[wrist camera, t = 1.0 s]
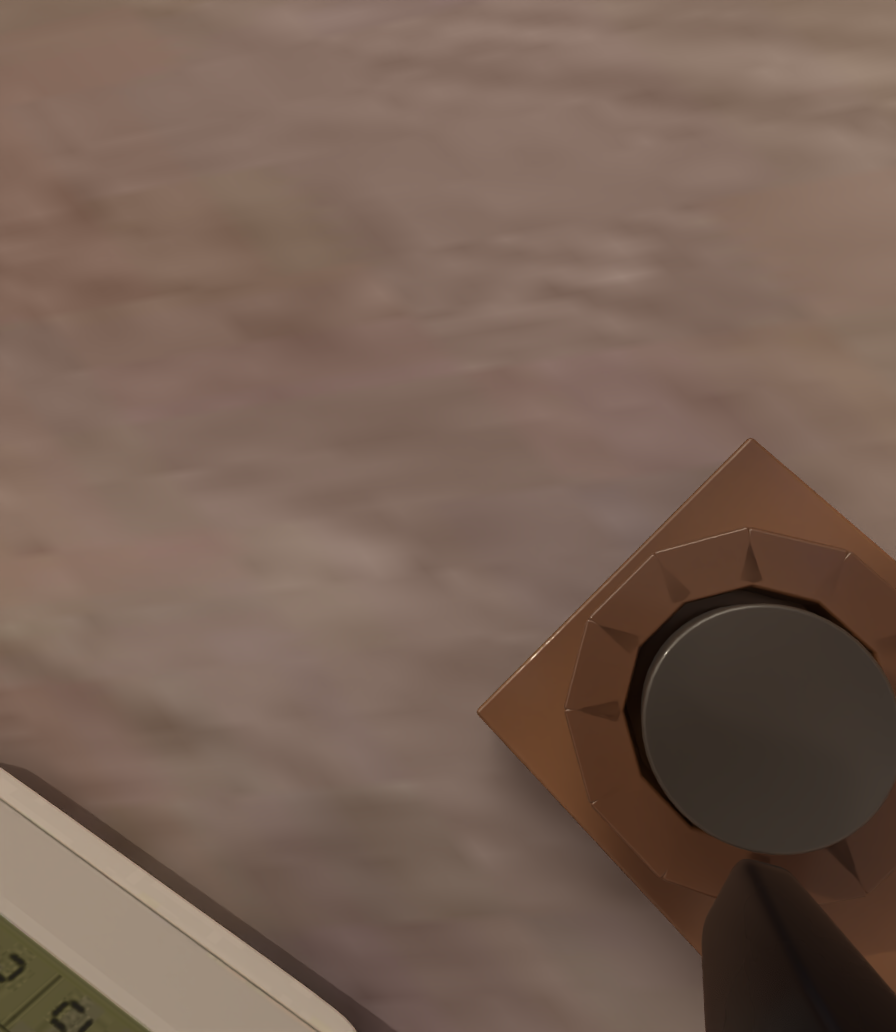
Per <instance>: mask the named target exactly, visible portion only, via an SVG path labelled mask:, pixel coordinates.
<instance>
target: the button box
mask: <svg viewBox="0 0 896 1032" xmlns="http://www.w3.org/2000/svg"><path fill="white" fill-rule="evenodd" d="M759 603H766V604H780V605H786V606H791V607H796V608H800V609H803V610H806V611H809V612H812V613H815V614H817V615H819V616H821V617H823V618H825V619H828V620H830V621H831V622H833V623H835V624H836V625H838V626H839V627H841V628H843V629H844V630H845V631H847V632H848V633H849V634H851V635H852V636H853V637H854V638H856V639H857V640H858V641H859V642H860V643H861V644H862V645H863V646H864V647H865V648H866V649H867V650H868V651H869V652H870V653H871V655H872V656H873V657H874V659H875V660H876V661H877V662H878V664H879V665H880V666H881V668H882V670H883V671H884V673H885V675H886V677H887V678H888V680H889V682H890V684H891V686H892V689H893V691H894V694H895V696H896V561H895V560H894V559H893V558H891V557H890V556H889V555H888V554H887V553H886V552H884V551H883V550H882V549H881V548H880V547H879V546H877V545H876V544H875V543H874V542H873V541H872V540H870V539H869V538H868V537H867V536H866V535H865V534H863V533H862V532H861V531H860V530H859V529H858V528H857V527H855V526H854V525H853V524H852V523H851V522H850V521H848V520H847V519H846V518H845V517H844V516H843V515H841V514H840V513H839V512H838V511H837V510H836V509H834V508H833V507H832V506H831V505H830V504H829V503H827V502H826V501H825V500H824V499H823V498H822V497H821V496H819V495H818V494H817V493H816V492H815V491H814V490H812V489H811V488H810V487H809V486H808V485H807V484H805V483H804V482H803V481H802V480H801V479H800V478H798V477H797V476H796V475H795V474H794V473H793V472H791V471H790V470H789V469H788V468H787V467H786V466H784V465H783V464H782V463H781V462H780V461H779V460H778V459H776V458H775V457H774V456H773V455H772V454H771V453H769V452H768V451H767V450H766V449H765V448H764V447H762V446H761V445H760V444H759V443H758V442H757V441H755V440H754V439H752V438H749V439H747V440H746V441H745V442H744V443H743V444H742V445H741V446H740V447H739V448H738V449H737V450H736V451H735V452H734V453H733V454H732V455H731V456H730V457H729V458H728V459H727V460H726V461H725V462H724V463H723V464H722V465H721V466H720V467H719V468H718V469H717V470H716V471H715V472H714V473H713V474H712V475H711V476H710V477H709V478H708V479H707V480H706V481H705V482H704V483H703V484H702V485H701V486H700V487H699V488H698V489H697V490H696V491H695V492H694V493H693V494H692V495H691V496H690V497H689V498H688V499H687V500H686V501H685V502H684V503H683V504H682V505H681V506H680V507H679V508H678V509H677V510H676V511H675V512H674V513H673V514H672V515H671V516H670V517H669V518H668V519H667V520H666V521H665V522H664V523H663V524H662V525H661V526H660V527H659V528H658V529H657V530H656V531H655V532H654V533H653V534H652V535H651V536H650V537H649V538H648V539H647V540H646V541H645V542H644V543H643V544H642V545H641V546H640V547H639V548H638V549H637V550H636V551H635V552H634V553H633V554H632V555H631V556H630V557H629V558H628V559H627V560H626V561H625V562H624V563H623V564H622V565H621V566H620V567H619V568H618V569H617V570H616V571H615V572H614V573H613V574H612V575H611V576H610V577H609V578H608V579H607V580H606V581H605V582H604V583H603V584H602V585H601V586H600V587H599V588H598V589H597V590H596V591H595V592H594V593H593V594H592V595H591V596H590V597H589V598H588V599H587V600H586V601H585V602H584V603H583V604H582V605H581V606H580V607H579V608H578V609H577V610H576V611H575V612H574V613H573V614H572V615H571V616H570V617H569V618H568V619H567V620H566V621H565V622H564V623H563V624H562V625H561V626H560V627H559V628H558V629H557V630H556V631H555V632H554V633H553V634H552V635H551V636H550V637H549V638H548V639H547V640H546V641H545V642H544V643H543V644H542V645H541V646H540V647H539V648H538V649H537V650H536V651H535V652H534V653H533V654H532V655H531V656H530V657H529V658H528V659H527V660H526V661H525V662H524V663H523V664H522V665H521V666H520V667H519V668H518V669H517V670H516V671H515V672H514V673H513V674H512V675H511V676H510V677H509V678H508V679H507V680H506V681H505V682H504V683H503V684H502V685H501V686H500V687H499V688H498V689H497V690H496V691H495V692H494V693H493V694H492V695H491V696H490V697H489V698H488V699H487V700H486V701H485V702H484V703H483V704H482V705H481V706H480V707H479V708H478V710H477V714H478V715H479V716H480V718H481V719H482V720H483V721H484V722H485V723H486V724H487V725H488V726H489V727H490V728H491V729H492V730H493V732H494V733H495V734H496V735H497V736H498V737H499V738H500V739H501V740H502V741H503V742H504V743H505V745H506V746H507V747H508V748H509V749H510V750H511V751H512V752H513V753H514V754H515V755H516V756H517V757H518V759H519V760H520V761H521V762H522V763H523V764H524V765H525V766H526V767H527V768H528V769H529V770H530V771H531V773H532V774H533V775H534V776H535V777H536V778H537V779H538V780H539V781H540V782H541V783H542V784H543V786H544V787H545V788H546V789H547V790H548V791H549V792H550V793H551V794H552V795H553V796H554V797H555V798H556V800H557V801H558V802H559V803H560V804H561V805H562V806H563V807H564V808H565V809H566V810H567V811H568V812H569V814H570V815H571V816H572V817H573V818H574V819H575V820H576V821H577V822H578V823H579V824H580V825H581V827H582V828H583V829H584V830H585V831H586V832H587V833H588V834H589V835H590V836H591V837H592V838H593V839H594V841H595V842H596V843H597V844H598V845H599V846H600V847H601V848H602V849H603V850H604V851H605V852H606V854H607V855H608V856H609V857H610V858H611V859H612V860H613V861H614V862H615V863H616V864H617V865H618V866H619V868H620V869H621V870H622V871H623V872H624V873H625V874H626V875H627V876H628V877H629V878H630V879H631V880H632V882H633V883H634V884H635V885H636V886H637V887H638V888H639V889H640V890H641V891H642V892H643V893H644V895H645V896H646V897H647V898H648V899H649V900H650V901H651V902H652V903H653V904H654V905H655V906H656V907H657V909H658V910H659V911H660V912H661V913H662V914H663V915H664V916H665V917H666V918H667V919H668V920H669V921H670V923H671V924H672V925H673V926H674V927H675V928H676V929H677V930H678V931H679V932H680V933H681V934H682V936H683V937H684V938H685V939H686V940H687V941H688V942H689V943H690V944H691V945H692V946H693V947H694V948H695V950H696V951H697V952H698V953H699V954H700V955H701V956H702V950H701V939H702V930H703V925H704V922H705V918H706V916H707V914H708V912H709V910H710V908H711V907H712V905H713V903H714V901H715V899H716V897H717V896H718V894H719V892H720V890H721V888H722V886H723V885H724V883H725V881H726V879H727V877H728V875H729V874H730V872H731V870H732V868H733V867H734V866H735V864H736V863H737V862H739V861H740V860H742V859H752V860H756V861H760V862H764V863H768V864H772V865H776V866H780V867H782V868H784V869H787V870H788V871H789V872H791V873H792V874H793V875H794V876H795V877H796V879H797V880H798V881H799V882H800V883H801V884H802V886H803V887H804V888H805V889H806V890H807V891H808V893H809V894H810V895H811V896H812V897H813V898H814V900H815V901H816V902H817V903H818V904H819V905H820V907H821V908H822V909H823V910H824V911H825V912H826V913H827V915H828V916H829V917H830V918H831V919H832V920H833V922H834V923H835V924H836V925H837V926H838V927H839V929H840V930H841V931H842V932H843V933H844V934H845V936H846V937H847V938H848V939H849V940H850V941H851V943H852V944H853V945H854V946H855V947H856V948H857V949H858V951H859V952H860V953H861V954H862V955H863V956H864V958H865V959H866V960H867V961H868V962H869V963H870V965H871V966H872V967H873V968H874V969H875V970H876V972H877V973H878V974H879V975H880V976H881V977H882V979H883V980H884V981H885V982H886V983H887V984H888V985H889V987H890V988H891V989H892V990H893V991H894V992H895V994H896V781H895V783H894V785H893V787H892V789H891V791H890V793H889V795H888V797H887V799H886V800H885V802H884V803H883V805H882V806H881V808H880V809H879V810H878V812H877V813H876V814H875V815H874V816H873V817H872V818H871V819H870V820H869V821H868V822H867V823H866V824H865V825H864V826H863V827H861V828H860V829H859V830H858V831H856V832H855V833H854V834H852V835H850V836H849V837H847V838H845V839H844V840H842V841H840V842H838V843H836V844H833V845H831V846H829V847H826V848H824V849H820V850H816V851H813V852H809V853H803V854H795V855H769V854H761V853H755V852H751V851H747V850H743V849H739V848H736V847H734V846H731V845H729V844H726V843H724V842H722V841H720V840H718V839H716V838H714V837H712V836H711V835H709V834H707V833H705V832H704V831H703V830H701V829H700V828H698V827H697V826H696V825H694V824H693V823H692V822H691V821H690V820H688V819H687V818H686V817H685V816H684V815H683V814H682V813H681V812H680V811H679V810H678V809H677V808H676V807H675V805H674V804H673V803H672V802H671V801H670V800H669V798H668V797H667V795H666V794H665V792H664V791H663V789H662V788H661V786H660V785H659V783H658V781H657V779H656V777H655V775H654V773H653V771H652V769H651V766H650V763H649V761H648V758H647V755H646V751H645V746H644V742H643V736H642V724H641V696H642V691H643V685H644V681H645V678H646V675H647V672H648V669H649V667H650V665H651V663H652V661H653V658H654V657H655V655H656V654H657V652H658V651H659V649H660V648H661V646H662V645H663V644H664V642H665V641H666V640H667V639H668V638H669V637H670V636H671V635H672V634H673V633H674V632H675V631H676V630H677V629H679V628H680V627H681V626H682V625H684V624H685V623H687V622H688V621H690V620H691V619H693V618H695V617H697V616H699V615H701V614H703V613H705V612H708V611H711V610H714V609H717V608H720V607H726V606H731V605H741V604H759Z"/></svg>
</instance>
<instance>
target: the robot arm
mask: <svg viewBox="0 0 896 1032" xmlns="http://www.w3.org/2000/svg"><path fill="white" fill-rule="evenodd" d="M701 950H702V970H703V990H704V1011H705V1031H706V1032H896V994H895V992H894V991H893V990H892V989H891V988H890V987H889V985H888V984H887V983H886V982H885V981H884V980H883V979H882V977H881V976H880V975H879V974H878V973H877V972H876V970H875V969H874V968H873V967H872V966H871V965H870V963H869V962H868V961H867V960H866V959H865V958H864V956H863V955H862V954H861V953H860V952H859V951H858V949H857V948H856V947H855V946H854V945H853V944H852V943H851V941H850V940H849V939H848V938H847V937H846V936H845V934H844V933H843V932H842V931H841V930H840V929H839V927H838V926H837V925H836V924H835V923H834V922H833V920H832V919H831V918H830V917H829V916H828V915H827V913H826V912H825V911H824V910H823V909H822V908H821V907H820V905H819V904H818V903H817V902H816V901H815V900H814V898H813V897H812V896H811V895H810V894H809V893H808V891H807V890H806V889H805V888H804V887H803V886H802V884H801V883H800V882H799V881H798V880H797V879H796V877H795V876H794V875H793V874H792V873H791V872H789V871H788V870H787V869H784V868H782V867H780V866H776V865H772V864H768V863H764V862H760V861H756V860H752V859H742V860H740V861H739V862H737V863H736V864H735V866H734V867H733V868H732V870H731V872H730V874H729V875H728V877H727V879H726V881H725V883H724V885H723V886H722V888H721V890H720V892H719V894H718V896H717V897H716V899H715V901H714V903H713V905H712V907H711V908H710V910H709V912H708V914H707V916H706V918H705V922H704V925H703V930H702V939H701Z"/></svg>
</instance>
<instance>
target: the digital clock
mask: <svg viewBox="0 0 896 1032" xmlns="http://www.w3.org/2000/svg"><path fill="white" fill-rule="evenodd" d="M0 1032H357V1031H356V1029H355V1028H354V1027H353V1026H352V1025H351V1023H350V1022H349V1021H348V1020H347V1019H346V1018H345V1017H344V1016H343V1015H342V1014H340V1013H339V1012H338V1011H337V1010H336V1009H335V1008H333V1007H332V1006H331V1005H329V1004H328V1003H327V1002H325V1001H324V1000H323V999H321V998H320V997H319V996H318V995H316V994H315V993H314V992H312V991H311V990H310V989H308V988H307V987H306V986H304V985H303V984H302V983H300V982H299V981H298V980H296V979H295V978H293V977H292V976H291V975H289V974H288V973H287V972H285V971H284V970H282V969H281V968H280V967H278V966H277V965H276V964H274V963H273V962H272V961H270V960H269V959H267V958H266V957H265V956H263V955H262V954H260V953H259V952H258V951H256V950H255V949H253V948H252V947H251V946H249V945H248V944H246V943H245V942H244V941H242V940H241V939H240V938H238V937H237V936H235V935H234V934H233V933H231V932H230V931H228V930H227V929H226V928H224V927H223V926H221V925H220V924H219V923H217V922H216V921H214V920H213V919H212V918H210V917H209V916H207V915H206V914H205V913H203V912H202V911H200V910H199V909H198V908H196V907H195V906H194V905H192V904H191V903H189V902H188V901H187V900H185V899H184V898H182V897H181V896H180V895H178V894H177V893H175V892H174V891H173V890H171V889H170V888H168V887H167V886H166V885H164V884H163V883H161V882H160V881H159V880H157V879H156V878H154V877H153V876H152V875H150V874H149V873H148V872H146V871H145V870H143V869H142V868H141V867H139V866H138V865H136V864H135V863H134V862H132V861H131V860H129V859H128V858H127V857H125V856H124V855H122V854H121V853H120V852H118V851H117V850H115V849H114V848H113V847H111V846H110V845H108V844H107V843H106V842H104V841H103V840H102V839H100V838H99V837H97V836H96V835H95V834H93V833H92V832H90V831H89V830H88V829H86V828H85V827H83V826H82V825H81V824H79V823H78V822H76V821H75V820H74V819H72V818H71V817H69V816H68V815H67V814H65V813H64V812H62V811H61V810H60V809H58V808H57V807H56V806H54V805H53V804H51V803H50V802H49V801H47V800H46V799H44V798H43V797H42V796H40V795H39V794H37V793H36V792H35V791H33V790H32V789H30V788H29V787H28V786H26V785H25V784H23V783H22V782H20V781H19V780H18V779H16V778H15V777H13V776H12V775H11V774H9V773H8V772H6V771H5V770H3V769H2V768H1V767H0Z"/></svg>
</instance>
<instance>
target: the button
mask: <svg viewBox="0 0 896 1032" xmlns="http://www.w3.org/2000/svg"><path fill="white" fill-rule="evenodd" d="M641 724H642V736H643V742H644V746H645V751H646V755H647V758H648V761H649V763H650V766H651V769H652V771H653V773H654V775H655V777H656V779H657V781H658V783H659V785H660V786H661V788H662V789H663V791H664V792H665V794H666V795H667V797H668V798H669V800H670V801H671V802H672V803H673V804H674V805H675V807H676V808H677V809H678V810H679V811H680V812H681V813H682V814H683V815H684V816H685V817H686V818H687V819H688V820H690V821H691V822H692V823H693V824H694V825H696V826H697V827H698V828H700V829H701V830H703V831H704V832H705V833H707V834H709V835H711V836H712V837H714V838H716V839H718V840H720V841H722V842H724V843H726V844H729V845H731V846H734V847H736V848H739V849H743V850H747V851H751V852H755V853H761V854H769V855H795V854H803V853H809V852H813V851H816V850H820V849H824V848H826V847H829V846H831V845H833V844H836V843H838V842H840V841H842V840H844V839H845V838H847V837H849V836H850V835H852V834H854V833H855V832H856V831H858V830H859V829H860V828H861V827H863V826H864V825H865V824H866V823H867V822H868V821H869V820H870V819H871V818H872V817H873V816H874V815H875V814H876V813H877V812H878V810H879V809H880V808H881V806H882V805H883V803H884V802H885V800H886V799H887V797H888V795H889V793H890V791H891V789H892V787H893V785H894V783H895V781H896V696H895V694H894V691H893V689H892V686H891V684H890V682H889V680H888V678H887V677H886V675H885V673H884V671H883V670H882V668H881V666H880V665H879V664H878V662H877V661H876V660H875V659H874V657H873V656H872V655H871V653H870V652H869V651H868V650H867V649H866V648H865V647H864V646H863V645H862V644H861V643H860V642H859V641H858V640H857V639H856V638H854V637H853V636H852V635H851V634H849V633H848V632H847V631H845V630H844V629H843V628H841V627H839V626H838V625H836V624H835V623H833V622H831V621H830V620H828V619H825V618H823V617H821V616H819V615H817V614H815V613H812V612H809V611H806V610H803V609H800V608H796V607H791V606H786V605H780V604H766V603H759V604H741V605H731V606H726V607H720V608H717V609H714V610H711V611H708V612H705V613H703V614H701V615H699V616H697V617H695V618H693V619H691V620H690V621H688V622H687V623H685V624H684V625H682V626H681V627H680V628H679V629H677V630H676V631H675V632H674V633H673V634H672V635H671V636H670V637H669V638H668V639H667V640H666V641H665V642H664V644H663V645H662V646H661V648H660V649H659V651H658V652H657V654H656V655H655V657H654V658H653V661H652V663H651V665H650V667H649V669H648V672H647V675H646V678H645V681H644V685H643V691H642V696H641Z"/></svg>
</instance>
